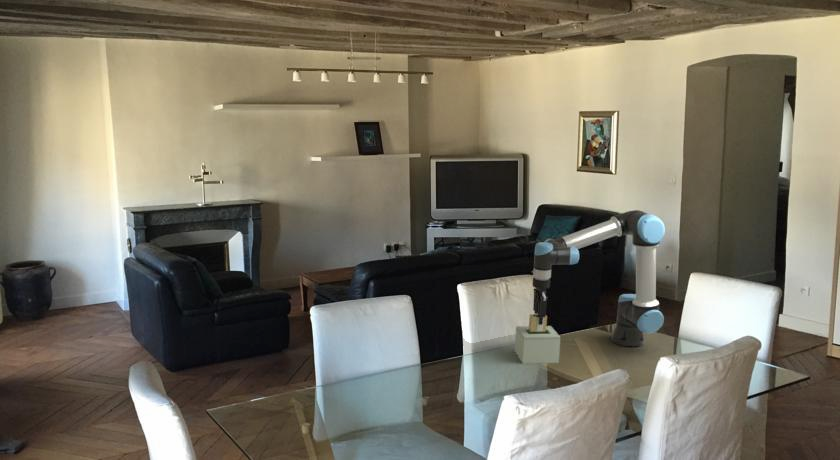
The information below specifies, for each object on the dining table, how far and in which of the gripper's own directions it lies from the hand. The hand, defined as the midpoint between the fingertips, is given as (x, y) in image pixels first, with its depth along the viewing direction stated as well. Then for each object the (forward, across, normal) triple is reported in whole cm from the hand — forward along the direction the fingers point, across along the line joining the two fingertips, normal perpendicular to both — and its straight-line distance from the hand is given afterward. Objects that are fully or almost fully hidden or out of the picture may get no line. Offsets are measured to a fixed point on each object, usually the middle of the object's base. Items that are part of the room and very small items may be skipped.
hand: (538, 329), depth 317 cm
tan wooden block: (+1, 0, 0) cm, 1 cm away
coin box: (+13, 0, 0) cm, 13 cm away
